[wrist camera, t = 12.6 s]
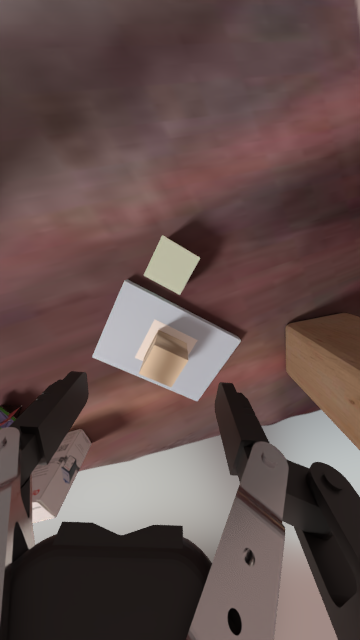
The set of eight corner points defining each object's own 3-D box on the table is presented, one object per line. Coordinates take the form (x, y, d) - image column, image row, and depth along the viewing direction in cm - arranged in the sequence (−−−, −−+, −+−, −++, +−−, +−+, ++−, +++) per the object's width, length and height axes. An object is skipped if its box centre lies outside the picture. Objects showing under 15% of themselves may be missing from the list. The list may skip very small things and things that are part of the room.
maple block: (145, 354, 29) (138, 373, 24) (158, 329, 27) (154, 344, 22) (172, 366, 29) (171, 387, 25) (186, 343, 28) (188, 360, 23)
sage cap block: (149, 272, 26) (143, 275, 21) (165, 239, 24) (162, 235, 20) (179, 288, 27) (180, 294, 22) (196, 257, 25) (200, 257, 21)
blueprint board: (96, 352, 30) (91, 357, 29) (127, 279, 26) (124, 280, 25) (196, 395, 34) (197, 401, 32) (238, 336, 29) (241, 340, 28)
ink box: (58, 452, 39) (10, 530, 27) (44, 437, 37) (-12, 513, 26) (93, 442, 38) (57, 519, 27) (80, 426, 36) (37, 501, 25)
